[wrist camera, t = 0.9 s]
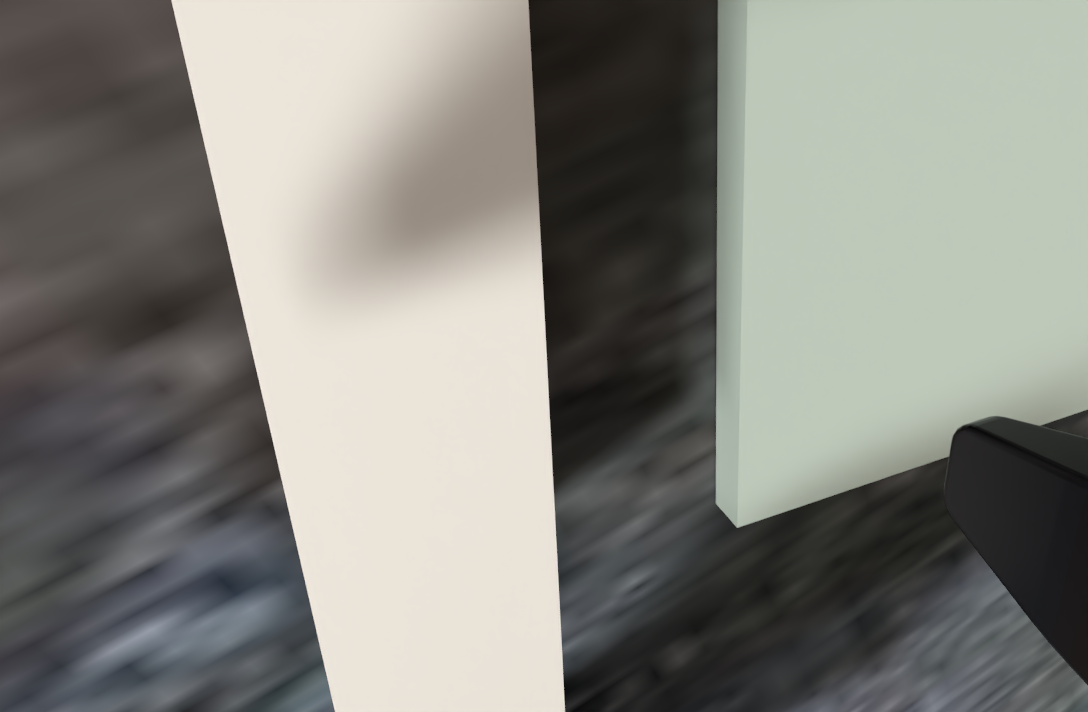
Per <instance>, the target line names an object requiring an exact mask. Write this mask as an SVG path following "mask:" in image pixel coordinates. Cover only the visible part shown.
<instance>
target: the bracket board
mask: <svg viewBox="0 0 1088 712" xmlns="http://www.w3.org/2000/svg"><path fill="white" fill-rule="evenodd" d="M1085 410H1088V0H718V112H717V345H716V504H717V505H718V507H719V508H720V509H721V510H722V511H723V512H724V513H725V515H726V516H727V517H728V518H729V519H730V520H731V521H732V523H733V524H734V525H735V526H736V527H737V528H738V527H741V526H744V525H747V524H750V523H753V522H756V521H759V520H762V519H765V518H768V517H771V516H774V515H777V514H780V513H783V512H786V511H789V510H792V509H795V508H798V507H801V506H804V505H806V504H809V503H812V502H815V501H818V500H821V499H824V498H827V497H830V496H833V495H836V494H839V493H842V492H845V491H848V490H851V489H854V488H857V487H860V486H863V485H866V484H869V483H872V482H875V481H878V480H880V479H883V478H886V477H889V476H892V475H895V474H898V473H901V472H904V471H907V470H910V469H913V468H916V467H919V466H922V465H925V464H928V463H931V462H934V461H937V460H940V459H943V458H946V457H949V453H950V447H951V441H952V437H953V435H954V433H955V432H956V430H957V429H958V428H959V427H961V426H962V425H965V424H968V423H971V422H974V421H977V420H980V419H983V418H986V417H990V416H1002V417H1007V418H1011V419H1015V420H1019V421H1023V422H1027V423H1031V424H1035V425H1039V426H1040V425H1043V424H1046V423H1049V422H1052V421H1055V420H1058V419H1061V418H1064V417H1067V416H1070V415H1073V414H1076V413H1079V412H1082V411H1085Z"/></svg>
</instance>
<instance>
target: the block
mask: <svg viewBox="0 0 1088 712" xmlns="http://www.w3.org/2000/svg"><path fill="white" fill-rule="evenodd" d="M172 5H173V9H174V13H175V18H176V22H177V26H178V31H179V35H180V39H181V44H182V48H183V52H184V57H185V61H186V66H187V70H188V74H189V79H190V83H191V87H192V92H193V96H194V100H195V105H196V109H197V113H198V118H199V122H200V126H201V131H202V135H203V139H204V144H205V148H206V152H207V157H208V161H209V166H210V170H211V174H212V179H213V183H214V187H215V192H216V196H217V200H218V205H219V209H220V213H221V218H222V222H223V226H224V231H225V235H226V239H227V244H228V248H229V252H230V257H231V261H232V266H233V270H234V274H235V279H236V283H237V287H238V292H239V296H240V300H241V305H242V309H243V313H244V318H245V322H246V326H247V331H248V335H249V339H250V344H251V348H252V353H253V357H254V361H255V366H256V370H257V374H258V379H259V383H260V387H261V392H262V396H263V400H264V405H265V409H266V413H267V418H268V422H269V426H270V431H271V435H272V439H273V444H274V448H275V453H276V457H277V461H278V466H279V470H280V474H281V479H282V483H283V487H284V492H285V496H286V500H287V505H288V509H289V513H290V518H291V522H292V526H293V531H294V535H295V539H296V544H297V548H298V553H299V557H300V561H301V566H302V570H303V574H304V579H305V583H306V587H307V592H308V596H309V600H310V605H311V609H312V613H313V618H314V622H315V626H316V631H317V635H318V640H319V644H320V648H321V653H322V657H323V661H324V666H325V670H326V674H327V679H328V683H329V687H330V692H331V696H332V700H333V705H334V709H335V712H565V700H564V681H563V661H562V642H561V623H560V603H559V584H558V564H557V545H556V526H555V506H554V487H553V468H552V448H551V429H550V410H549V390H548V371H547V352H546V332H545V313H544V293H543V274H542V255H541V235H540V216H539V197H538V177H537V158H536V139H535V119H534V100H533V81H532V61H531V42H530V22H529V3H528V0H172Z"/></svg>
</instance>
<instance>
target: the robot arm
mask: <svg viewBox="0 0 1088 712" xmlns="http://www.w3.org/2000/svg"><path fill="white" fill-rule="evenodd" d="M944 501H945V504H946V507H947V510H948V512H949V514H950V516H951V517H952V519H953V520H954V521H955V523H956V524H957V525H958V527H959V528H960V529H961V530H962V532H963V533H964V534H965V536H966V537H967V538H968V540H969V541H970V542H971V543H972V545H973V546H974V547H975V549H976V550H977V551H978V552H979V554H980V555H981V556H982V558H983V559H984V560H985V562H986V563H987V564H988V565H989V567H990V568H991V569H992V571H993V572H994V573H995V574H996V576H997V577H998V578H999V580H1000V581H1001V582H1002V584H1003V585H1004V586H1005V587H1006V589H1007V590H1008V591H1009V593H1010V594H1011V595H1012V596H1013V598H1014V599H1015V600H1016V602H1017V603H1018V604H1019V606H1020V607H1021V608H1022V609H1023V611H1024V612H1025V613H1026V615H1027V616H1028V617H1029V618H1030V620H1031V621H1032V622H1033V624H1034V625H1035V626H1036V627H1037V628H1038V630H1039V631H1040V632H1041V633H1042V635H1043V636H1044V637H1045V638H1046V640H1047V641H1048V642H1049V643H1050V644H1051V645H1052V647H1053V648H1054V649H1055V650H1056V651H1057V652H1058V653H1059V654H1060V656H1061V657H1062V658H1063V659H1064V660H1065V661H1066V662H1067V663H1068V664H1069V666H1070V667H1071V668H1072V669H1073V670H1074V671H1075V672H1076V673H1077V674H1078V675H1079V676H1080V677H1081V678H1082V679H1083V681H1084V682H1085V683H1086V684H1087V685H1088V438H1086V437H1082V436H1078V435H1074V434H1070V433H1066V432H1062V431H1058V430H1054V429H1050V428H1046V427H1042V426H1039V425H1035V424H1031V423H1027V422H1023V421H1019V420H1015V419H1011V418H1007V417H1002V416H990V417H986V418H983V419H980V420H977V421H974V422H971V423H968V424H965V425H962V426H961V427H959V428H958V429H957V430H956V432H955V433H954V435H953V437H952V441H951V447H950V453H949V460H948V466H947V473H946V479H945V486H944Z"/></svg>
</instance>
